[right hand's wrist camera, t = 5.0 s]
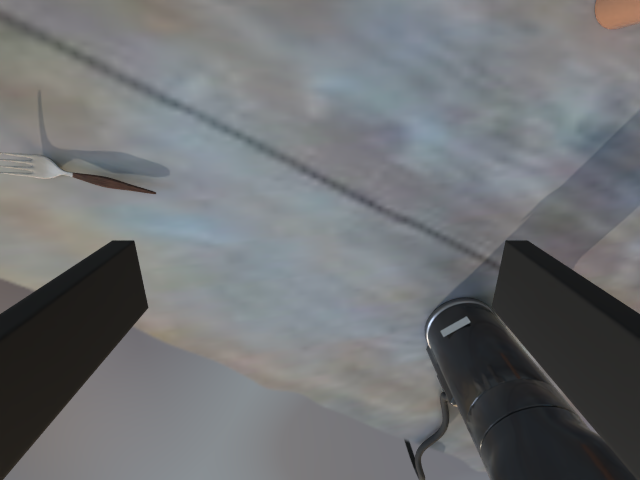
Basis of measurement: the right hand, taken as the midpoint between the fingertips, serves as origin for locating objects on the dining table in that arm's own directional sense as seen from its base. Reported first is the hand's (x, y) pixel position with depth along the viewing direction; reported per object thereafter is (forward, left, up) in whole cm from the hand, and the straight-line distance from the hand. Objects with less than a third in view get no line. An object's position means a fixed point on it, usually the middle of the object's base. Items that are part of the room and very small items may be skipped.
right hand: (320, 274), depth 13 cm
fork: (+2, -26, -28) cm, 38 cm away
